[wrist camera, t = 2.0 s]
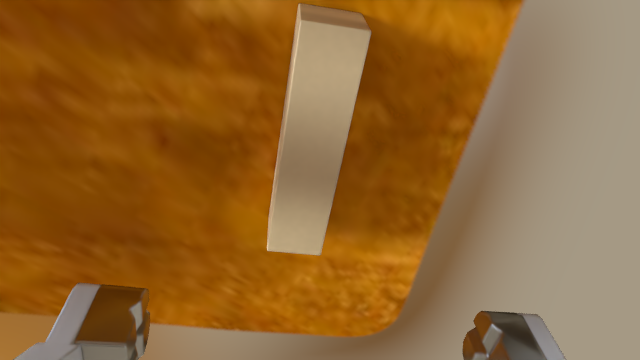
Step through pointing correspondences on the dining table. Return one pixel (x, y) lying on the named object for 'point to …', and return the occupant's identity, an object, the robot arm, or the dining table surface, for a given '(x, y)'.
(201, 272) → the dining table surface
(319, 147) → the beige rectangular block
